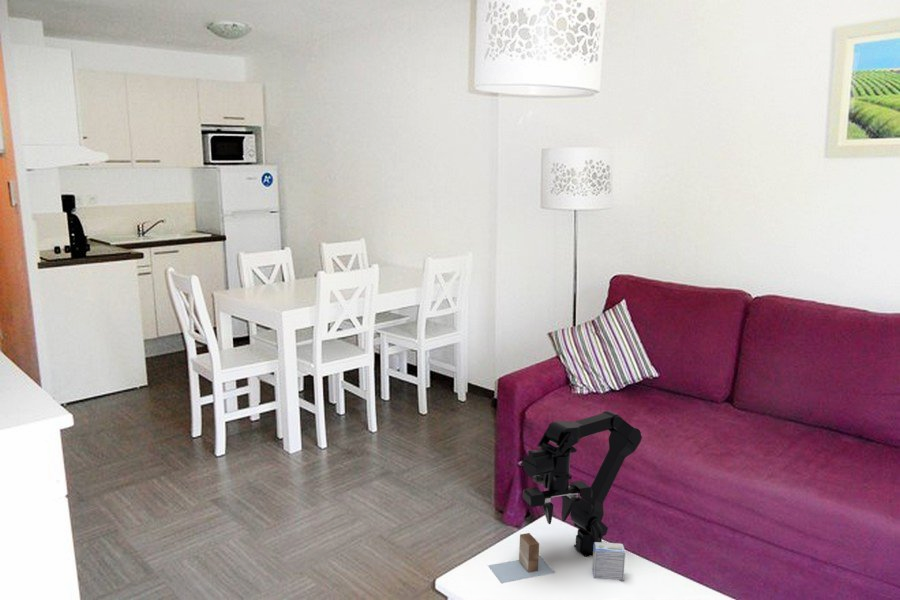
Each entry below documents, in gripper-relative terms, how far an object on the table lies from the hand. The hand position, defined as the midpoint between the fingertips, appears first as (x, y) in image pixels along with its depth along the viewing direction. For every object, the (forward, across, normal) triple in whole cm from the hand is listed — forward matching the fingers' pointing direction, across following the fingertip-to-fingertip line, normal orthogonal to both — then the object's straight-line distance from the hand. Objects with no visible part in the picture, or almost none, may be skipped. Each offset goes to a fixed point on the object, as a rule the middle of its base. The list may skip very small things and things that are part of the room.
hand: (556, 522), depth 192 cm
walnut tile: (+12, +8, 0) cm, 14 cm away
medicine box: (+12, -10, +10) cm, 19 cm away
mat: (+12, +10, +1) cm, 16 cm away
